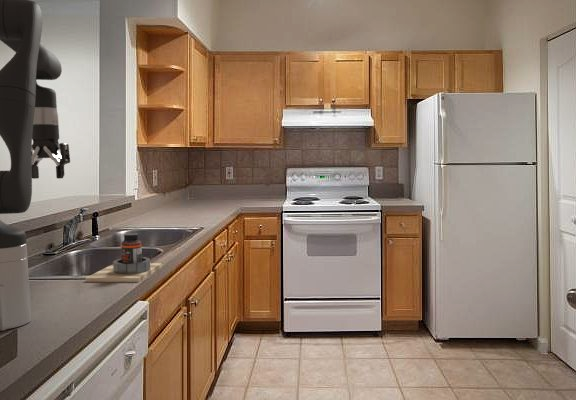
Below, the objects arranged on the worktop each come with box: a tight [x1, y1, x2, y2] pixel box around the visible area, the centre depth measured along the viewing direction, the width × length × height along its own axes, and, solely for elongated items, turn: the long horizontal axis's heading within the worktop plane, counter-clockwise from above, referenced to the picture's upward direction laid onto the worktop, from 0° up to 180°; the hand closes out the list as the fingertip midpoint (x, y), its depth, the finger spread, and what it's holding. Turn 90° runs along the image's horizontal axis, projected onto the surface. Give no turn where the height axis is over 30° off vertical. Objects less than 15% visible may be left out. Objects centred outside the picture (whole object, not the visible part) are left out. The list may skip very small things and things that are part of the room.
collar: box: [112, 256, 151, 274], centre depth 155 cm, size 11×11×3 cm
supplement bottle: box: [120, 232, 143, 263], centre depth 154 cm, size 6×6×11 cm
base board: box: [85, 262, 163, 283], centre depth 155 cm, size 20×16×1 cm
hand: (47, 178), depth 150 cm, fingers open, 8 cm apart
